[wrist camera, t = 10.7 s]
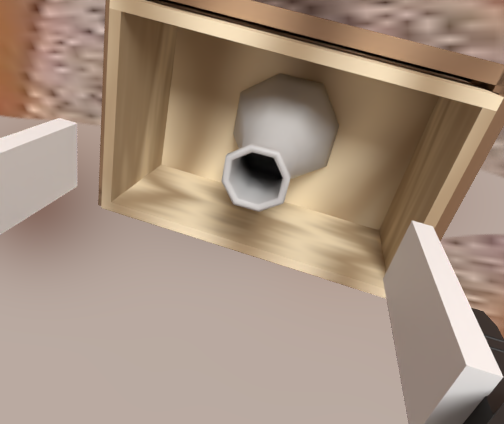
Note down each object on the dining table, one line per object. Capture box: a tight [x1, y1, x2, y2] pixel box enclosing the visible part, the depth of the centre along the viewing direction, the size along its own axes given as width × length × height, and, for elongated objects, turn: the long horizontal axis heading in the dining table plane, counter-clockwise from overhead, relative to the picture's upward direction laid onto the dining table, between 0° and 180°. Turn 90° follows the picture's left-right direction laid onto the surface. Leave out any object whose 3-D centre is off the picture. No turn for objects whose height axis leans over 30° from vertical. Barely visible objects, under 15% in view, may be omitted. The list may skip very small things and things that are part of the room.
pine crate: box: [101, 0, 504, 298], centre depth 23 cm, size 18×12×8 cm, turn 77°
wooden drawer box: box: [98, 0, 504, 241], centre depth 24 cm, size 21×14×7 cm, turn 77°
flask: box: [222, 73, 339, 212], centre depth 22 cm, size 7×7×10 cm
